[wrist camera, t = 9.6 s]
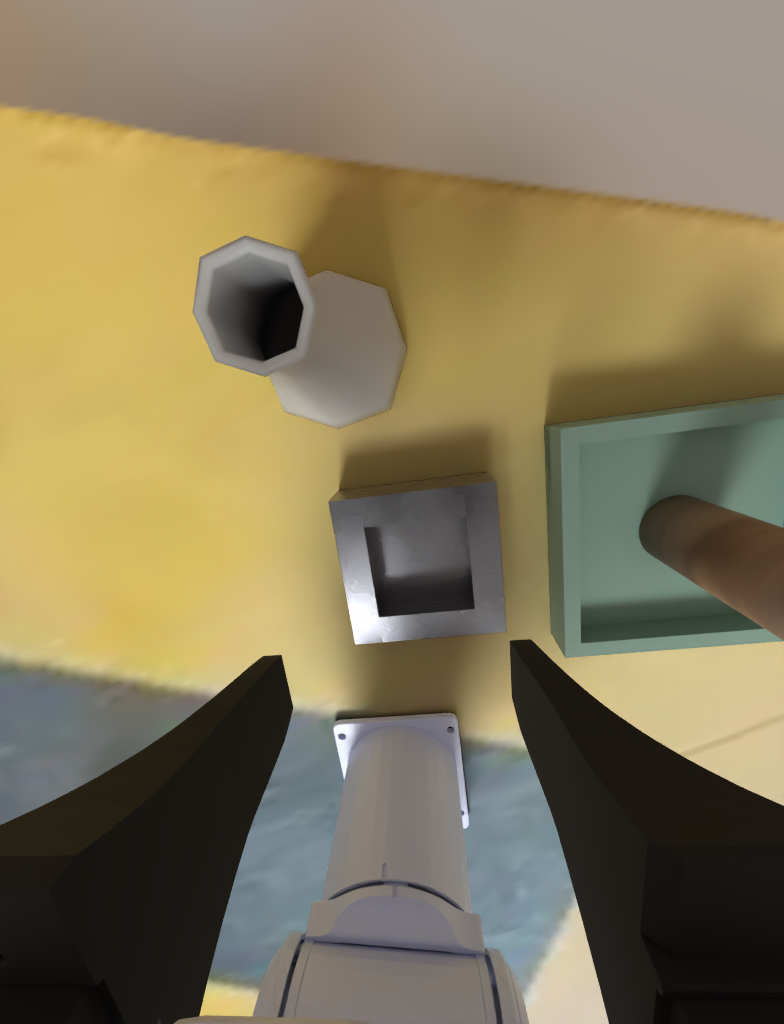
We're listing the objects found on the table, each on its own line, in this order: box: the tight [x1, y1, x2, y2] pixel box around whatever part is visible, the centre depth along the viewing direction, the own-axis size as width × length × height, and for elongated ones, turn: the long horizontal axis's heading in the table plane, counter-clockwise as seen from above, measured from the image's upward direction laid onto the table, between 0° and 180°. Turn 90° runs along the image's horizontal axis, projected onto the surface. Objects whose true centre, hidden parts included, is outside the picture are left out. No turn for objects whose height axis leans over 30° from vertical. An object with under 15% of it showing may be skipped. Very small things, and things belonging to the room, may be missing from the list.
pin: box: [639, 495, 784, 641], centre depth 16 cm, size 4×4×8 cm
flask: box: [193, 235, 407, 429], centre depth 15 cm, size 7×7×10 cm
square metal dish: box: [329, 472, 506, 645], centre depth 21 cm, size 8×8×2 cm
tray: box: [544, 394, 784, 658], centre depth 20 cm, size 12×12×2 cm
